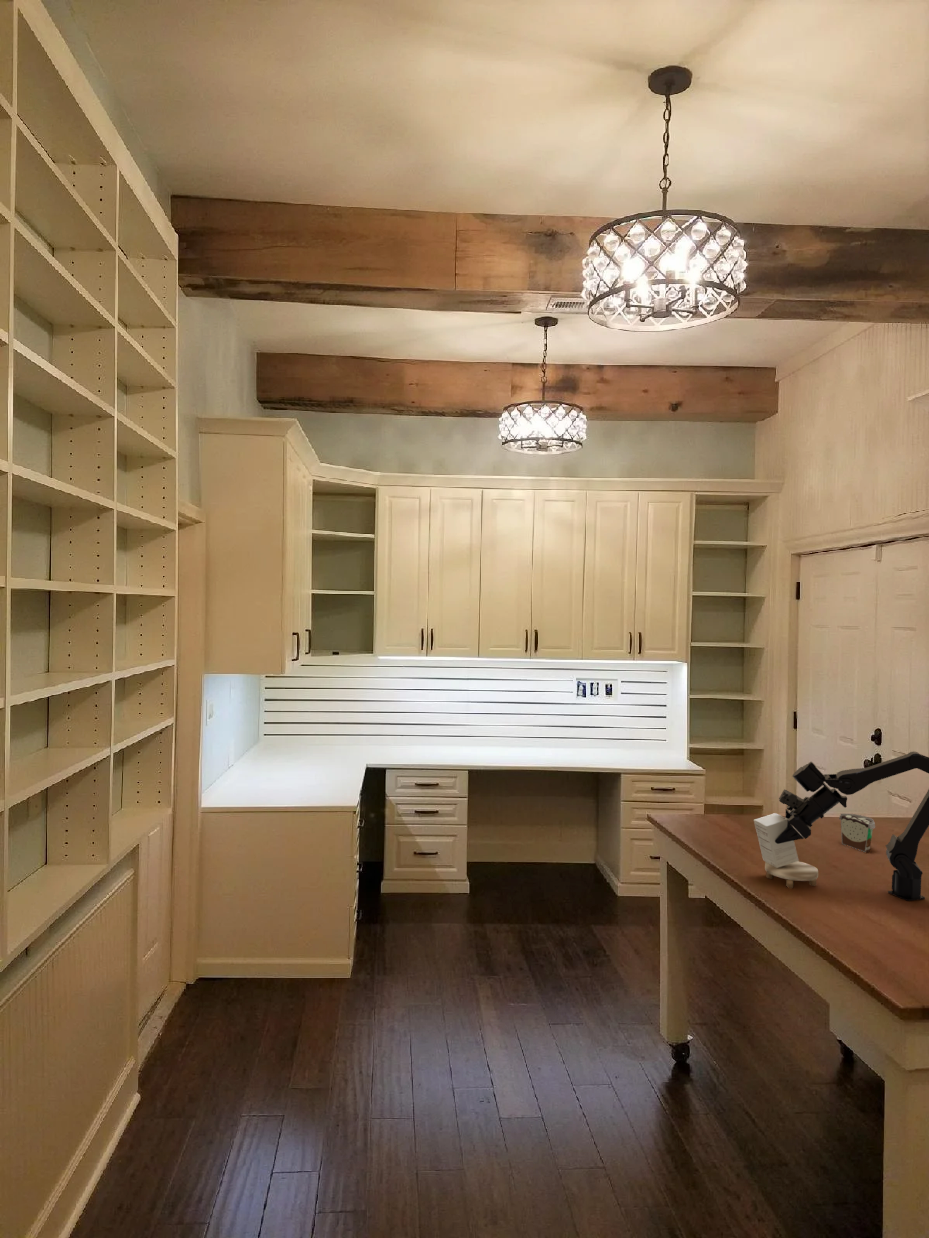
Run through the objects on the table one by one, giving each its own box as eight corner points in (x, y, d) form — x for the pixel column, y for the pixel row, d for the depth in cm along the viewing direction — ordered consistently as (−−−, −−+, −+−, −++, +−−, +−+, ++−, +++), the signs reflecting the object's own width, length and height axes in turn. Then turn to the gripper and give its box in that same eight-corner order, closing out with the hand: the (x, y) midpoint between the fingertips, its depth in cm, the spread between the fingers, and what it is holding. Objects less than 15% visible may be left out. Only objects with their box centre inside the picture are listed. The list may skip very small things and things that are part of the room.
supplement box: (785, 853, 230) (775, 812, 230) (799, 861, 223) (789, 818, 223) (762, 860, 229) (752, 819, 229) (776, 868, 222) (766, 825, 221)
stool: (829, 887, 220) (829, 873, 220) (788, 891, 215) (789, 877, 215) (792, 870, 233) (793, 857, 233) (754, 874, 228) (754, 861, 228)
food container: (883, 852, 255) (884, 821, 255) (869, 853, 253) (870, 822, 252) (851, 841, 266) (852, 811, 266) (838, 842, 264) (839, 813, 264)
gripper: (796, 775, 233) (755, 808, 237) (799, 788, 215) (755, 823, 219) (824, 805, 230) (782, 837, 234) (829, 820, 213) (784, 855, 217)
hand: (775, 837), depth 226 cm, fingers closed on supplement box, 9 cm apart
